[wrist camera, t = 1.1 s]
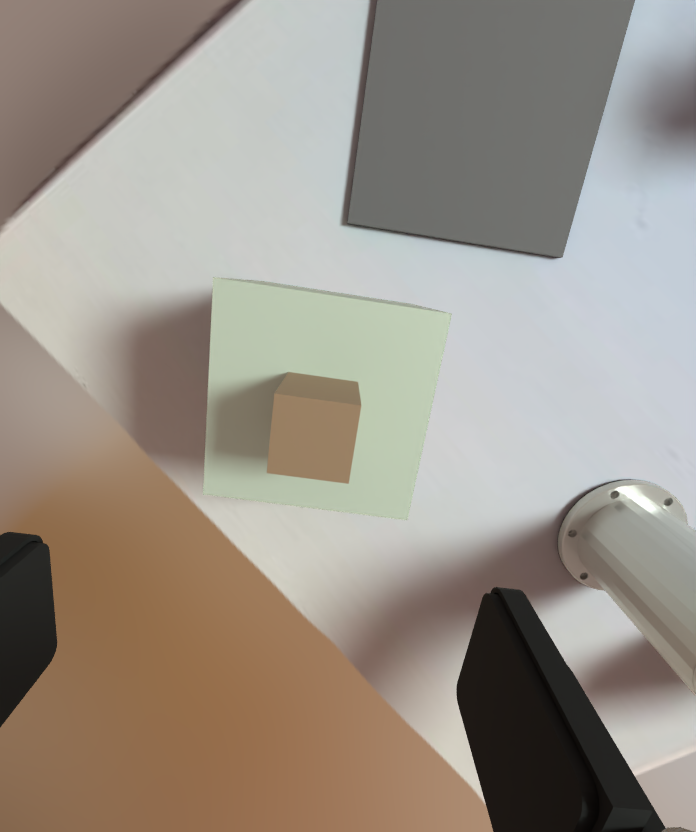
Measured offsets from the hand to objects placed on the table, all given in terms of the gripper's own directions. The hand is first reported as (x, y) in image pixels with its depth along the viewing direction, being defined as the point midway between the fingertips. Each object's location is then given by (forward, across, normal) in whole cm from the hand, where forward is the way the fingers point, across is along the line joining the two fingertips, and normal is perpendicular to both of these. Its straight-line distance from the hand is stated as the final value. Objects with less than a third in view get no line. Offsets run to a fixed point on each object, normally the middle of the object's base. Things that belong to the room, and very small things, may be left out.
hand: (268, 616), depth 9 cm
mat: (+30, -9, -21) cm, 38 cm away
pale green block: (+30, 0, 0) cm, 30 cm away
